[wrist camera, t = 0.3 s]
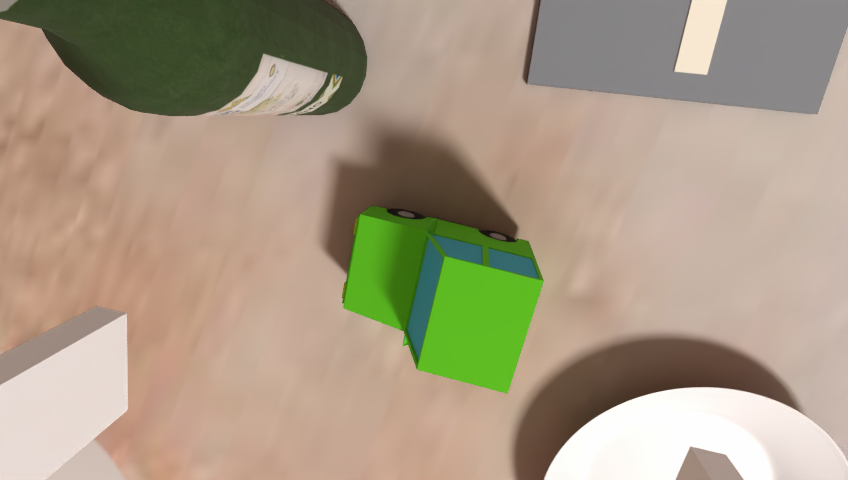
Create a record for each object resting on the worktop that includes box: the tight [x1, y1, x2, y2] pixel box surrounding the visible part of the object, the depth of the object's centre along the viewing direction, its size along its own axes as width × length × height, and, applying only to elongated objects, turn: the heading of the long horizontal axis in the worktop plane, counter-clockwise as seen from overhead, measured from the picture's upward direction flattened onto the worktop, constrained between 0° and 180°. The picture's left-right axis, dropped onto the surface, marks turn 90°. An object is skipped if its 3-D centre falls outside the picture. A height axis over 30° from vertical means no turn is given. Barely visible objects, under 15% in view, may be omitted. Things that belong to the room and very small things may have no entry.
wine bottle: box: [0, 0, 367, 116], centre depth 20 cm, size 8×8×30 cm
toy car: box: [342, 206, 543, 393], centre depth 33 cm, size 10×13×10 cm
